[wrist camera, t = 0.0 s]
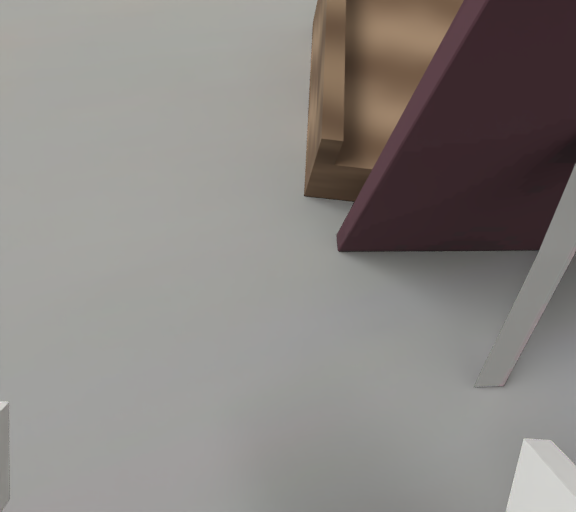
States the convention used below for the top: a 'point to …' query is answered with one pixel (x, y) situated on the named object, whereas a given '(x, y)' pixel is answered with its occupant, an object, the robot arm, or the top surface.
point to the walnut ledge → (364, 83)
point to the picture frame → (485, 156)
